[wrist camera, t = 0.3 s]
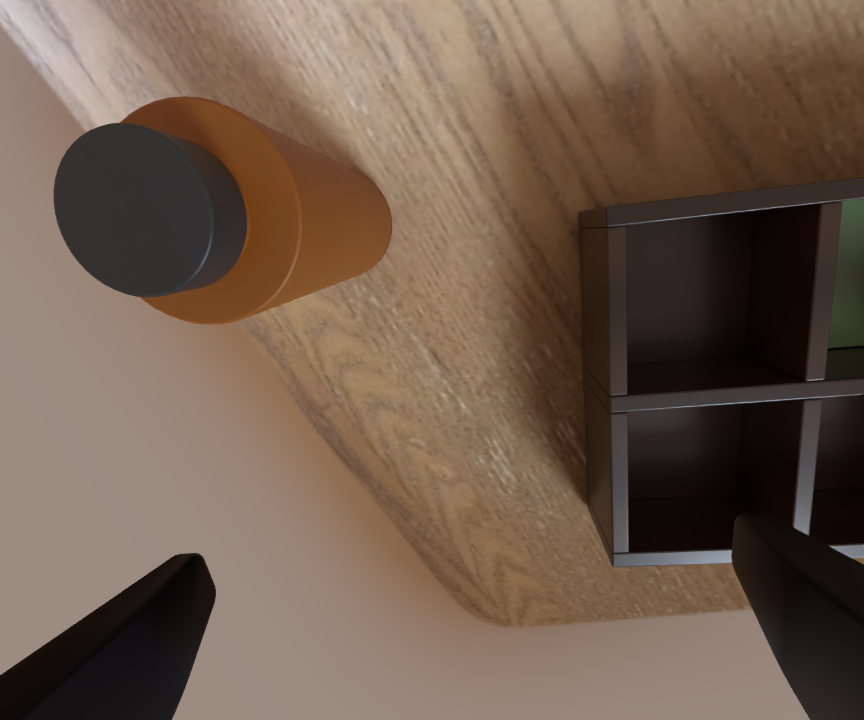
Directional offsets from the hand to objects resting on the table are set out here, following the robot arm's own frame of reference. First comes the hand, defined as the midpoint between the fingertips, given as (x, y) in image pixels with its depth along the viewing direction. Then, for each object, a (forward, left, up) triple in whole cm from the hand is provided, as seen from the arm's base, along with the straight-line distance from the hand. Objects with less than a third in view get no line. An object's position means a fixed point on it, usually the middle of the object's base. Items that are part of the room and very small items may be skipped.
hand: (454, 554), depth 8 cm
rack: (-2, -13, -16) cm, 20 cm away
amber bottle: (+6, +5, -16) cm, 17 cm away
